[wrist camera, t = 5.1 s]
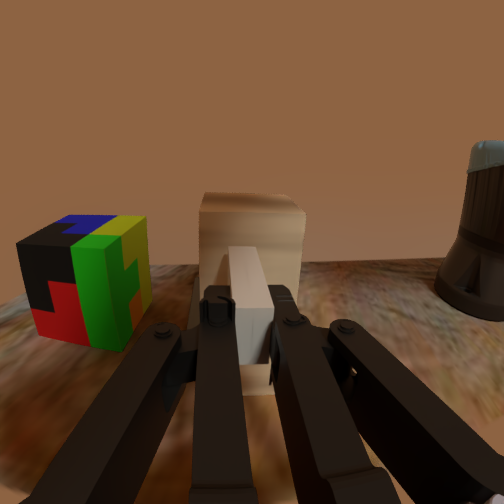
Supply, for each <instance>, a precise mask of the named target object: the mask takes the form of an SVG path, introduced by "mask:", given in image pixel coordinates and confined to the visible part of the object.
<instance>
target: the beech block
mask: <svg viewBox="0 0 504 504" xmlns="http://www.w3.org/2000/svg"><path fill="white" fill-rule="evenodd" d="M305 222H306V214H305V213H304V212H303V211H302V210H301V209H300V208H299V207H298V206H297V205H296V204H295V203H294V202H293V201H292V200H291V199H290V198H289V197H288V196H287V195H278V194H252V193H250V194H249V193H208V192H206V193H205V194H204V197H203V200H202V203H201V206H200V210H199V280H200V300H201V299H202V298H203V296H204V290H205V289H206V288H207V287H208V286H209V285H228V246H248V247H256V250H257V253H258V256H259V259H260V263H261V266H262V269H263V272H264V276H265V279H266V282H267V285H284V286H286V287H287V288H288V289H289V290H290V292H291V294H292V297H293V299H294V301H295V304H296V302H297V294H298V286H299V277H300V269H301V260H302V251H303V242H304V232H305ZM239 366H240V375H241V385H242V394H243V396H250V395H275V392H274V388H273V383H272V385H269V378H270V369H271V358H270V356H269V364H255V365H239Z"/></svg>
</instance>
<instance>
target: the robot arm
mask: <svg viewBox="0 0 504 504" xmlns="http://www.w3.org/2000/svg"><path fill="white" fill-rule="evenodd" d="M467 174H468V177H467V185H466V192H465V199H464V204H463V209H462V215H461V220H460V225H459V230H458V234H457V238H456V240H455V242H454V244H453V246H452V247H451V249H450V251H449V252H448V254H447V256H446V258H445V259H444V261H443V262H442V264H441V266H440V267H439V269H438V272H437V276H436V279H435V283H434V286H435V289H436V291H437V292H438V294H439V295H440V296H441V297H442V298H443V299H444V300H446V301H447V302H448V303H450V304H451V305H453V306H454V307H456V308H458V309H460V310H462V311H464V312H466V313H468V314H471V315H473V316H476V317H479V318H483V319H487V320H494V321H504V141H496V140H489V141H480V142H477V143H476V144H475V145H474V146H473V147H472V150H471V155H470V162H469V167H468V170H467ZM199 312H200V323H199V325H197V326H196V327H194V328H192V329H188V330H184V331H181V330H180V328H179V327H178V326H177V325H175V324H172V323H167V322H161V323H155V324H153V325H151V326H149V327H148V328H147V329H146V330H145V332H144V333H143V334H142V335H141V337H140V338H139V339H138V341H137V342H136V344H135V345H134V346H133V348H132V349H131V350H130V352H129V353H128V354H127V356H126V357H125V358H124V360H123V361H122V362H121V364H120V365H119V367H118V368H117V369H116V371H115V372H114V373H113V375H112V376H111V377H110V379H109V380H108V382H107V383H106V384H105V386H104V387H103V389H102V390H101V391H100V393H99V394H98V396H97V397H96V398H95V400H94V401H93V403H92V404H91V405H90V407H89V408H88V410H87V411H86V412H85V414H84V415H83V417H82V418H81V420H80V421H79V422H78V424H77V425H76V427H75V428H74V430H73V431H72V433H71V434H70V435H69V437H68V438H67V440H66V441H65V443H64V444H63V446H62V447H61V449H60V450H59V452H58V453H57V455H56V456H55V458H54V459H53V461H52V462H51V464H50V465H49V467H48V468H47V470H46V471H45V473H44V474H43V476H42V477H41V479H40V480H39V482H38V483H37V485H36V486H35V488H34V490H33V491H32V493H31V494H30V496H29V497H27V498H26V499H24V500H23V501H22V502H20V503H19V504H133V503H134V501H135V499H136V496H137V494H138V492H139V490H140V487H141V485H142V483H143V481H144V478H145V476H146V474H147V472H148V469H149V467H150V465H151V463H152V460H153V458H154V456H155V454H156V452H157V449H158V447H159V445H160V443H161V440H162V438H163V436H164V434H165V432H166V429H167V427H168V425H169V423H170V420H171V418H172V416H173V414H174V412H175V409H176V407H177V405H178V403H179V400H180V398H181V396H182V394H183V392H184V389H185V387H186V383H187V382H192V381H196V385H195V404H194V426H193V454H192V485H191V488H190V491H189V504H259V503H258V497H257V492H256V488H255V487H254V485H253V479H252V472H251V464H250V455H249V447H248V439H247V430H246V421H245V412H244V403H243V394H242V385H241V375H240V366H239V365H255V364H269V356H270V358H271V369H270V378H269V385H272V383H273V388H274V392H275V397H276V402H277V406H278V411H279V416H280V421H281V425H282V430H283V435H284V439H285V444H286V449H287V453H288V458H289V463H290V467H291V472H292V477H293V481H294V486H295V490H296V495H297V500H298V504H401V501H400V499H399V497H398V494H397V492H396V490H395V487H394V485H393V483H392V480H391V478H390V476H389V474H388V473H387V471H386V470H385V469H384V468H382V467H374V466H373V465H372V463H371V461H370V459H369V456H368V454H367V452H366V449H365V447H364V444H363V442H362V440H361V437H360V435H361V436H362V437H363V439H364V440H365V441H366V442H367V444H368V445H369V446H370V448H371V449H372V450H373V451H374V453H375V454H376V455H377V457H378V458H379V459H380V460H381V462H382V463H383V464H384V465H385V467H386V468H387V469H388V470H389V472H390V473H391V474H392V475H393V477H394V478H395V479H396V480H397V482H398V483H399V484H400V485H401V487H402V488H403V489H404V490H405V492H406V493H407V494H408V495H409V497H410V498H411V499H412V500H413V501H414V503H415V504H504V456H502V455H499V454H498V453H496V451H495V450H493V449H492V448H491V447H490V446H489V445H488V444H487V443H486V442H485V441H484V440H483V439H482V438H481V437H480V436H479V435H478V434H477V433H476V432H475V431H474V430H473V429H472V428H471V427H470V426H468V425H467V424H466V423H465V422H464V421H463V420H462V419H461V418H460V417H459V416H458V415H457V414H456V413H455V412H454V411H453V410H452V409H451V408H449V407H448V406H447V405H446V404H445V403H444V402H443V401H442V400H441V399H440V398H439V397H438V396H437V395H436V394H435V393H433V392H432V391H431V390H430V389H429V388H428V387H427V386H426V385H425V384H424V383H423V382H422V381H421V380H419V379H418V378H417V377H416V376H415V375H414V374H413V373H412V372H411V371H410V370H409V369H408V368H407V367H405V366H404V365H403V364H402V363H401V362H400V361H399V360H398V359H397V358H396V357H395V356H393V355H392V354H391V353H390V352H389V351H388V350H387V349H386V348H385V347H384V346H383V345H381V344H380V343H379V342H378V341H377V340H376V339H375V338H374V337H373V336H372V335H370V334H369V333H368V332H367V331H366V330H365V329H364V328H363V327H362V326H361V325H359V324H358V323H356V322H354V321H351V320H348V319H338V320H335V321H333V322H332V323H331V324H330V327H329V329H328V328H321V327H316V326H313V325H311V323H310V321H309V319H308V318H307V317H306V316H304V315H302V314H300V313H299V311H298V308H297V306H296V304H295V301H294V299H293V297H292V294H291V292H290V290H289V289H288V288H287V287H286V286H284V285H267V282H266V279H265V276H264V272H263V269H262V266H261V263H260V259H259V256H258V253H257V250H256V247H248V246H228V285H209V286H208V287H207V288H206V289H205V290H204V296H203V298H202V299H201V300H200V302H199ZM352 368H354V369H355V371H356V372H357V374H356V373H354V372H353V370H352ZM358 432H359V433H360V435H359V433H358Z"/></svg>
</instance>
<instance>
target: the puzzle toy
mask: <svg viewBox="0 0 504 504" xmlns="http://www.w3.org/2000/svg"><path fill="white" fill-rule="evenodd" d="M16 247H17V252H18V257H19V262H20V267H21V272H22V276H23V280H24V285H25V288H26V293H27V296H28V300H29V304H30V307H31V311H32V314H33V318H34V321H35V324H36V327H37V331H38V334H39V335H40V336H44V337H48V338H52V339H56V340H61V341H65V342H70V343H75V344H80V345H84V346H90V347H95V348H100V349H106V350H111V351H117V352H122V351H123V349H124V348H125V346H126V344H127V342H128V341H129V339H130V337H131V335H132V334H133V332H134V330H135V329H136V327H137V325H138V323H139V322H140V320H141V318H142V317H143V315H144V313H145V312H146V310H147V308H148V307H149V305H150V303H151V302H152V290H151V279H150V268H149V255H148V240H147V221H146V216H117V215H114V216H113V215H68V216H66V217H64V218H62V219H60V220H58V221H56V222H54V223H52V224H50V225H48V226H47V227H45V228H43V229H41V230H39V231H37V232H36V233H34V234H32V235H30V236H28V237H27V238H25V239H23V240H21V241H19V242H18V243H16Z"/></svg>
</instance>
